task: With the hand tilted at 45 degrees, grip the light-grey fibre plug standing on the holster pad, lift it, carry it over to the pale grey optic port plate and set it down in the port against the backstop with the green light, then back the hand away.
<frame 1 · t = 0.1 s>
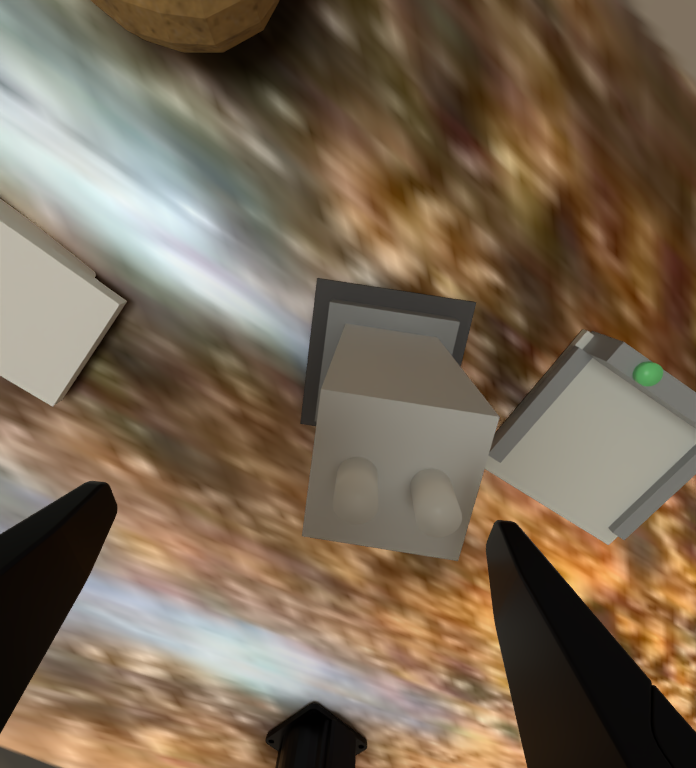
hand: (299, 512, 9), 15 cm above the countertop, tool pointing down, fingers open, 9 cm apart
holster pad: (382, 365, 24), on the countertop
port: (594, 443, 25), on the countertop
plug: (382, 366, 24), resting on holster pad
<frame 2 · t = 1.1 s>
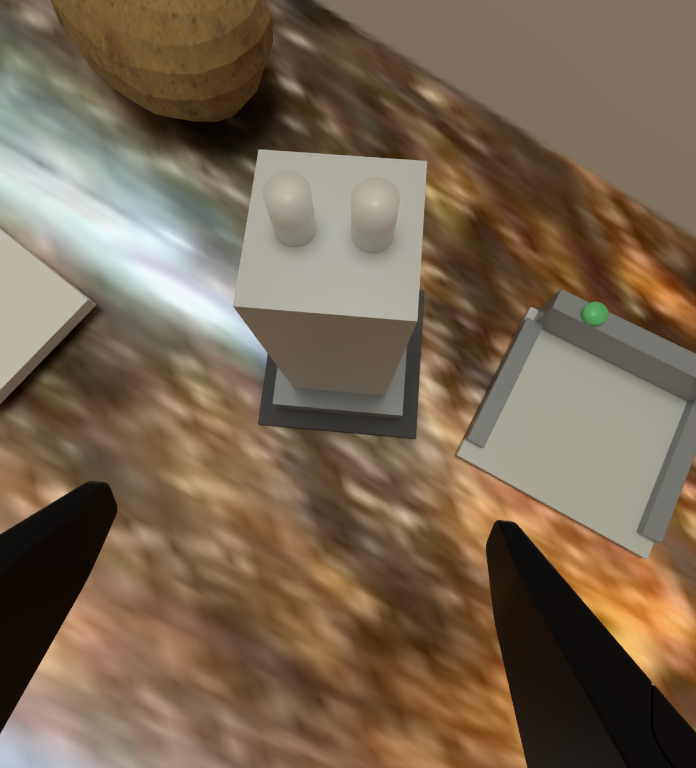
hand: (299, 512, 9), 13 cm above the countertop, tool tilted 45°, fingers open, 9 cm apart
holster pad: (344, 356, 24), on the countertop
potato: (192, 93, 28), on the countertop
port: (580, 425, 23), on the countertop
plug: (343, 355, 23), resting on holster pad
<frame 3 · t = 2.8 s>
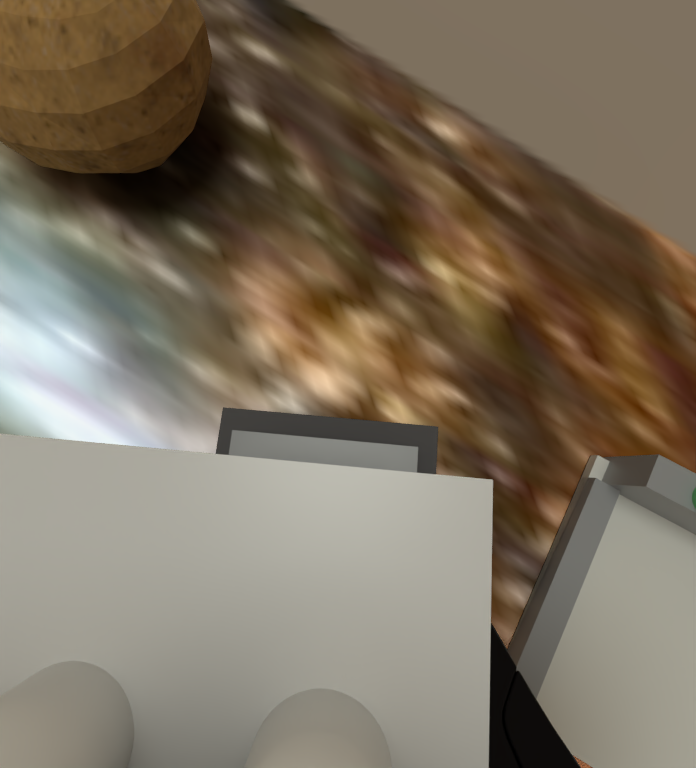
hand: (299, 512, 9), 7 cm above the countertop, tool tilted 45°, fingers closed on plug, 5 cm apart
holster pad: (318, 529, 16), on the countertop
potato: (113, 127, 20), on the countertop
port: (678, 646, 15), on the countertop
plug: (318, 530, 16), resting on holster pad, touching gripper
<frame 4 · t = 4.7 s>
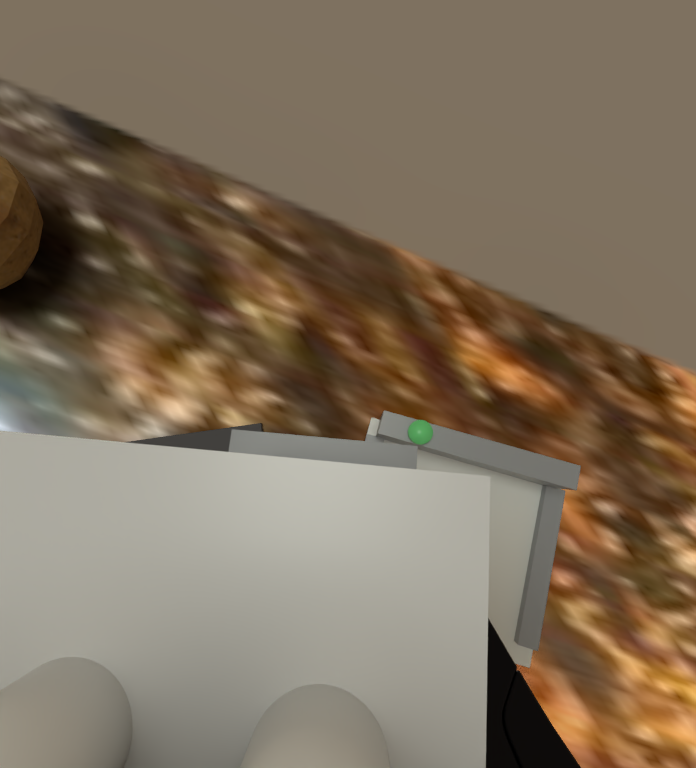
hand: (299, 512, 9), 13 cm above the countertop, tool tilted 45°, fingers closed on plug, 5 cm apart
holster pad: (189, 514, 22), on the countertop
port: (443, 533, 22), on the countertop
plug: (317, 529, 16), point 7 cm above the countertop, touching gripper
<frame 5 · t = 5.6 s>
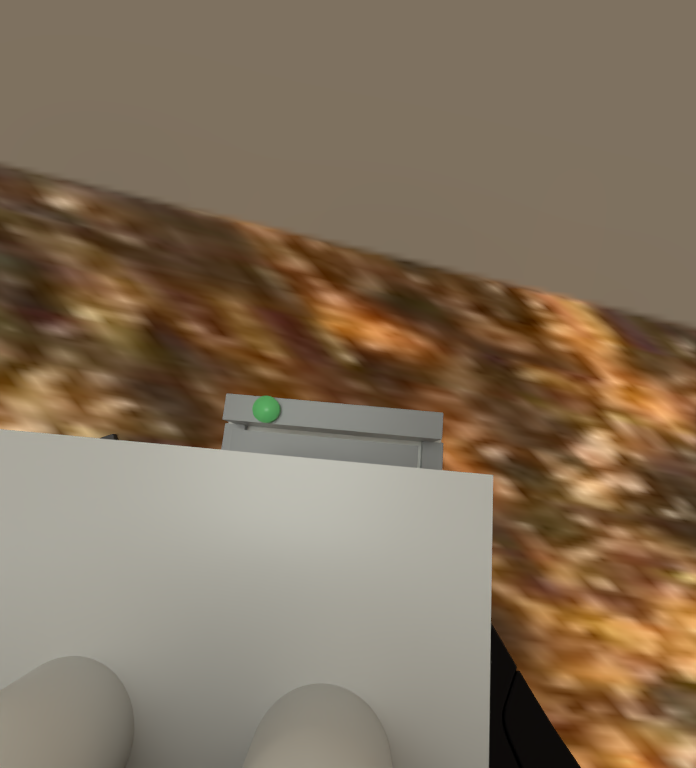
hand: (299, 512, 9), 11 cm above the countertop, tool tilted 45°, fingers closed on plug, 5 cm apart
port: (326, 513, 20), on the countertop
plug: (318, 529, 16), point 5 cm above the countertop, touching gripper
when the fingers open (8 cm above the countertop, at t = 6.4 s): plug drops 1 cm, resting on port.
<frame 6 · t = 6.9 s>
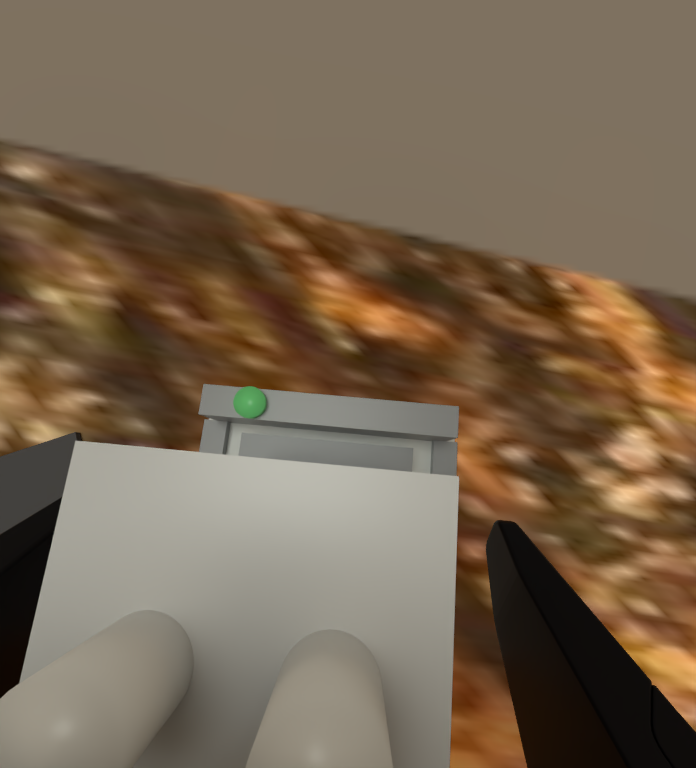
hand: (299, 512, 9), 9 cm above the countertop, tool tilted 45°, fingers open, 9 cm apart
port: (321, 524, 17), on the countertop
plug: (320, 525, 17), resting on port
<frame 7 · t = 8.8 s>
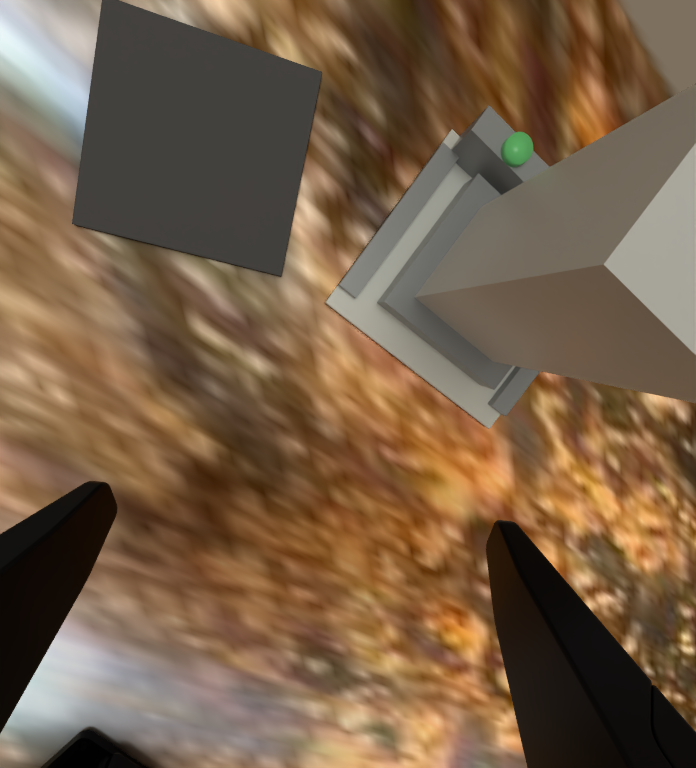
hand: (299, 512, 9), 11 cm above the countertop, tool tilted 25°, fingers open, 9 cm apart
holster pad: (200, 149, 18), on the countertop
port: (467, 290, 20), on the countertop
plug: (472, 289, 20), resting on port
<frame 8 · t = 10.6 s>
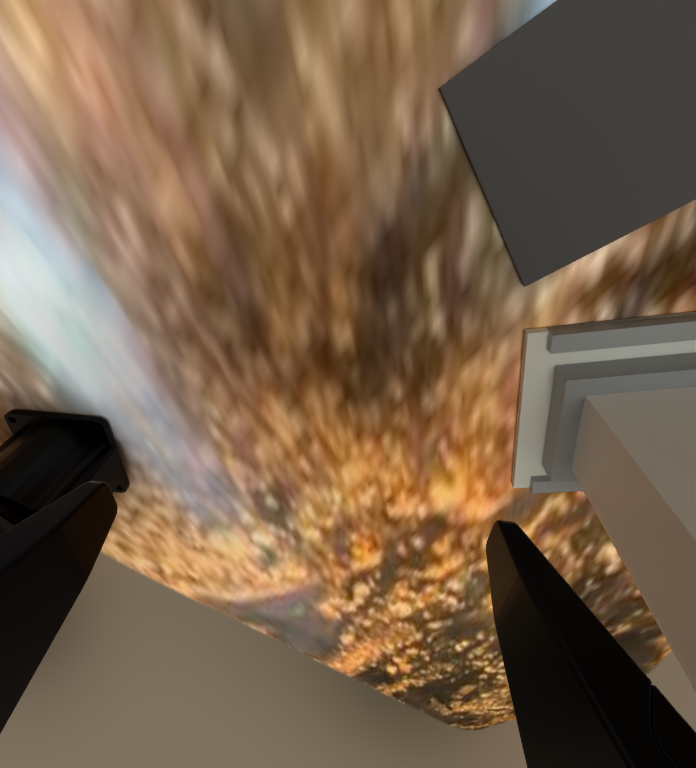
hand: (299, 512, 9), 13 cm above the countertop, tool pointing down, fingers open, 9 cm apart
holster pad: (595, 129, 15), on the countertop
port: (610, 408, 22), on the countertop
plug: (615, 413, 22), resting on port
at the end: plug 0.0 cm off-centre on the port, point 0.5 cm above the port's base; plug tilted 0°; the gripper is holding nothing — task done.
